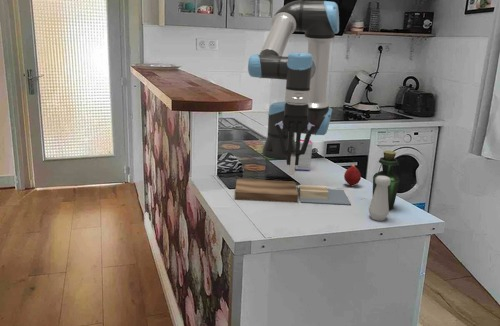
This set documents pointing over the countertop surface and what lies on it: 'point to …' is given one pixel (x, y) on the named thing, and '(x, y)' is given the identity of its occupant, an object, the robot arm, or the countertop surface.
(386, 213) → the salt shaker
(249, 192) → the board
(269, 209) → the countertop surface
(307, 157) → the supplement box
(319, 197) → the beech block
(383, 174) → the potion bottle
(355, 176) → the onion
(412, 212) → the countertop surface
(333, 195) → the slate mat
